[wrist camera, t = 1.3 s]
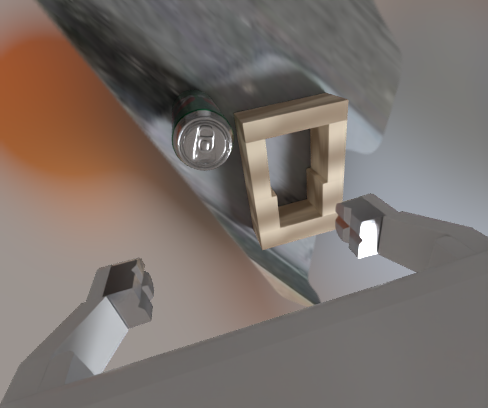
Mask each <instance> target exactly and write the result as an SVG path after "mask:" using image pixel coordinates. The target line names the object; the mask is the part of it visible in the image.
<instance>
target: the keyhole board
mask: <svg viewBox="0 0 488 408" xmlns="http://www.w3.org/2000/svg"><path fill="white" fill-rule="evenodd" d="M347 113H348V100H347V99H344V98H341V97H338V96H335V95H332V94H328V93H323V94H318V95H314V96H309V97H305V98H300V99H295V100H291V101H286V102H282V103H277V104H273V105H268V106H264V107H259V108H254V109H250V110H245V111H241V112H236V113H233V114H234V120H235V126H236V131H237V137H238V143H239V149H240V155H241V160H242V166H243V172H244V178H245V184H246V189H247V195H248V201H249V207H250V213H251V218H252V224H253V230H254V232H255V234H256V236H257V239H258V241H259V243H260V246H261V248H262V250H264V249H268V248H271V247H275V246H278V245H282V244H286V243H289V242H293V241H296V240H300V239H303V238H307V237H310V236H314V235H317V234H321V233H324V232H328V231H332V230H335V229H336V228H335V220H336V218H337V217H338V214H337V213H336V212H335V209H336V204H337V203H340V202H342V199H343V181H344V164H345V148H346V130H347ZM306 129H310V146H311V168H307V169H306V174H307V199H305V200H301V201H298V202H294V203H290V204H286V205H283V206H279V207H278V201H277V195H276V194H275V192H274V191H273V189H272V188H271V187H270V178H269V169H268V161H267V152H266V143H265V139H267V138H272V137H276V136H280V135H285V134H289V133H293V132H297V131H302V130H306Z"/></svg>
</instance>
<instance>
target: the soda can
mask: <svg viewBox="0 0 488 408" xmlns="http://www.w3.org/2000/svg"><path fill="white" fill-rule="evenodd" d="M233 145H234V134H233V130H232V128H231V126H230V124H229V122H228V121H227V120H226V118H225V117H224V115H223V114H222V113H221V111H220V110H219V108H218V107H217V106H216V104H215V103H214V102H213V100H212V99H211V98H210V97H209V96H208V95H207V94H206V93H204V92H202V91H199V90H188V91H185V92H183V93H181V94H180V95H179V96H178V97H177V98H176V99H175V101H174V103H173V106H172V146H173V149H174V151H175V154H176V155H177V157H178V158H179V159H180V160H181V161H182V162H183V163H184V164H186V165H187V166H189V167H191V168H194V169H197V170H204V171H205V170H212V169H215V168H217V167H219V166H221V165H222V164H223V163H224V162H225V161H226V160H227V158H228V157H229V155H230V154H231V152H232V149H233Z"/></svg>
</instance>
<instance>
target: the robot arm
mask: <svg viewBox="0 0 488 408" xmlns="http://www.w3.org/2000/svg"><path fill="white" fill-rule="evenodd" d="M335 212H336V213H337V214H338V217H337V218H336V220H335V228H336V231H337V234H338V236H339V237H340V238H341V239H342V241H344V242H347V243H349V249H350V250H351V251H352V252H353V253H354V254H355V255H356V257H357V258H362V257H365V256H369V255H373V254H376V253H378V254H379V255H381V256H383V257H385V258H387V259H389V260H391V261H394V262H396V263H398V264H400V265H402V266H404V267H406V268H408V269H410V270H413V271H415V272H417V273H414V274H411V275H408V276H405V277H402V278H399V279H396V280H393V281H389V282H386V283H383V284H380V285H377V286H374V287H371V288H367V289H364V290H361V291H358V292H355V293H352V294H349V295H345V296H342V297H339V298H336V299H332V300H329V301H326V302H323V303H320V304H317V305H314V306H310V307H307V308H304V309H301V310H298V311H295V312H292V313H288V314H285V315H282V316H279V317H276V318H273V319H270V320H266V321H263V322H260V323H257V324H254V325H251V326H248V327H245V328H241V329H238V330H235V331H232V332H229V333H226V334H223V335H219V336H216V337H213V338H210V339H207V340H203V341H200V342H197V343H194V344H191V345H188V346H185V347H182V348H178V349H175V350H172V351H169V352H166V353H163V354H160V355H156V356H153V357H150V358H147V359H144V360H141V361H138V362H134V363H131V364H128V365H125V366H122V367H119V368H116V369H112V370H109V371H106V372H103V370H104V369H105V367H106V365H107V364H108V362H109V360H110V359H111V357H112V356H113V354H114V353H115V351H116V349H117V348H118V346H119V344H120V343H121V341H122V340H123V338H124V336H125V335H126V333H127V332H128V329H129V328H132V327H135V326H138V325H140V324H144V323H147V322H150V321H151V319H152V308H153V306H152V304H151V302H150V300H151V299H152V298H153V294H154V288H153V282H152V279H151V276H150V275H149V273H148V272H146V271H144V267H145V264H144V263H143V261H142V259H140V258H136V259H132V260H128V261H124V262H120V263H116V264H113V265H108V266H105V267H101V268H99V269H98V270H97V272H96V274H95V277H94V280H93V283H92V286H91V289H90V292H89V295H88V297H87V300H86V302H84V303H81V304H80V305H79V306H78V307H77V308H76V309H75V310H74V311H73V312H72V313H71V314H70V315H69V316H68V317H67V318H66V319H65V320H64V321H63V322H62V323H61V324H60V325H59V326H58V327H57V328H56V329H55V330H54V331H53V332H52V333H51V334H50V335H49V336H48V337H47V338H46V339H45V340H44V341H43V342H42V343H41V344H40V345H39V346H38V347H37V348H36V349H35V350H34V351H33V352H32V353H31V354H30V355H29V356H28V357H27V358H26V359H25V360H24V361H23V362H22V363H21V364H20V365H19V367H18V369H17V371H16V373H15V375H14V377H13V379H12V382H11V383H10V385H9V388H8V390H7V392H6V394H5V396H4V398H3V400H2V402H1V404H0V408H488V237H487V236H485V235H483V234H482V233H480V232H478V231H477V230H475V229H473V228H471V227H467V226H463V225H459V224H455V223H450V222H446V221H442V220H437V219H433V218H429V217H425V216H421V215H416V214H412V213H408V212H403V211H401V212H398V211H396V210H395V209H394V208H392V207H391V206H389V205H388V204H387V203H385V202H384V201H382V200H381V199H380V198H378V197H377V196H375V195H374V194H371V193H370V194H367V195H363V196H360V197H358V198H354V199H351V200H347V201H344V202H340V203H337V204H336V209H335ZM102 372H103V373H102Z"/></svg>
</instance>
